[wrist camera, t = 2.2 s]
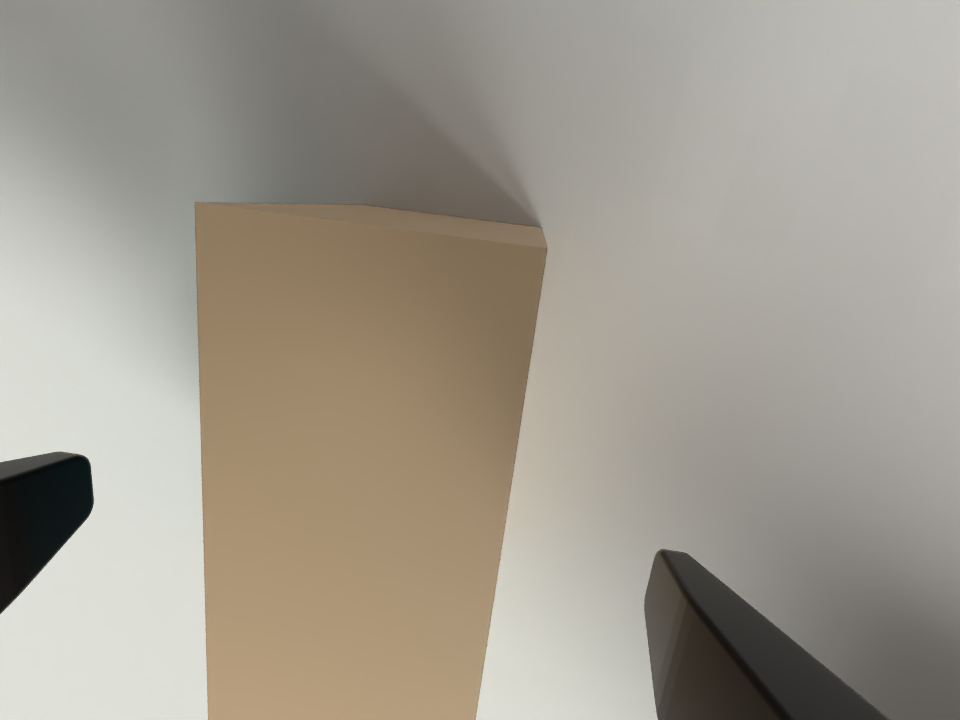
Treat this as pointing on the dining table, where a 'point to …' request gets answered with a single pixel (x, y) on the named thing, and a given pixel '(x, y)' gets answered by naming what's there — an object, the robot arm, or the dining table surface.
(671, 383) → the dining table surface
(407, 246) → the carton
